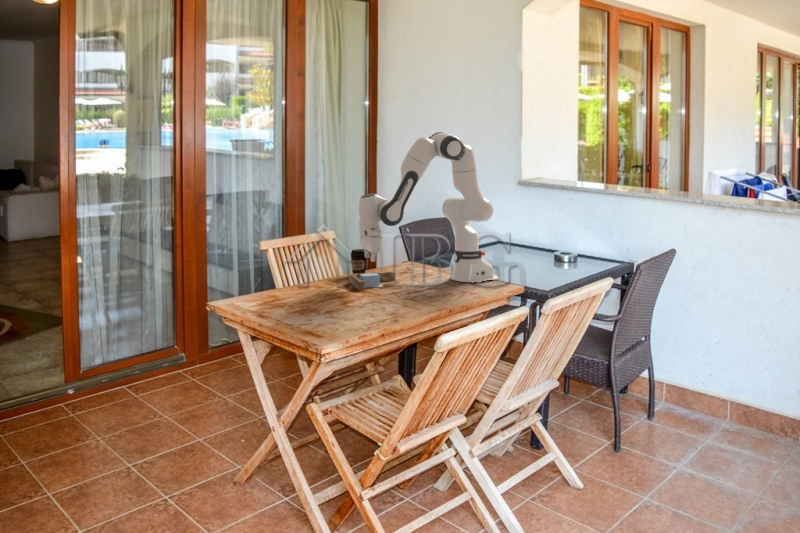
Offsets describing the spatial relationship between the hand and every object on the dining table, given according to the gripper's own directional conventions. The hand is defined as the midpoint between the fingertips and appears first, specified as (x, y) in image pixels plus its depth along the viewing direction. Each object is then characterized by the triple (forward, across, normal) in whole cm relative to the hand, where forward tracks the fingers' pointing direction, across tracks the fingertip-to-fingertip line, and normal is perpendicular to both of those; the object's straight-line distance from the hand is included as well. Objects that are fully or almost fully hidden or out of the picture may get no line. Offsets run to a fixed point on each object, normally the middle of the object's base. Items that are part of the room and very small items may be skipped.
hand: (370, 259), depth 344 cm
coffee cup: (+13, -22, +1) cm, 26 cm away
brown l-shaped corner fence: (+12, 0, +3) cm, 13 cm away
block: (+12, +1, -1) cm, 12 cm away
